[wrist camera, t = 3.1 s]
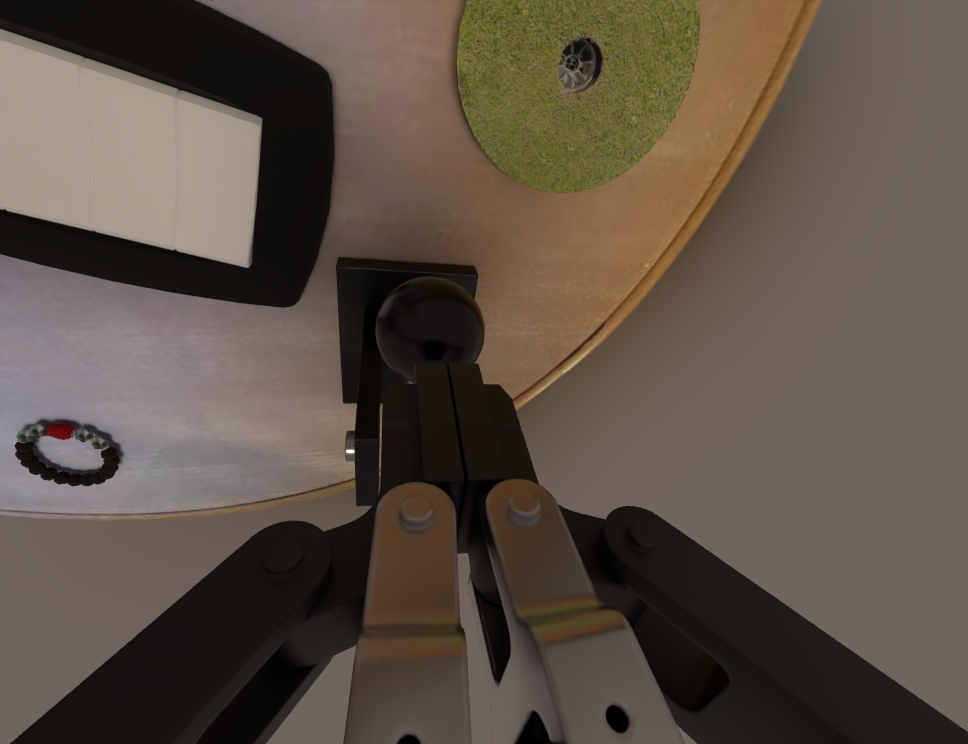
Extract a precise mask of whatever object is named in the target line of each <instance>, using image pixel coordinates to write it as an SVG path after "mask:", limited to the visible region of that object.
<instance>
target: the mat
mask: <svg viewBox="0 0 968 744" xmlns="http://www.w3.org/2000/svg"><path fill="white" fill-rule="evenodd" d="M464 10H465V12H464V14H463V17H462V20H461V24H460V28H459V40H458V44H457V62H458V63H457V64H456V65H457V75H458V89H459V92H460V93H461V95H460V96H461V102H462V106H463V109H464V111H465V114H466V119H467V120H468V121H469V125H470V128H471V129H472V131H473V133H474V136H475V137H476V138H477V141H478V142H479V144H480V145H481V148H482V149H483V150H484V151H485V153H486V155H487V154H488V157H489V158H490V159H491V160H492V161H493V163H494V164H496V165H497V166H498V168H499V169H500V170H502V171H503V172H505V173H506V174H507V175H508V176H509V177H511V178H513V179H515V180H516V181H518V182H520V183H522V184H524V185H526V186H529V187H532V188H534V189H537V190H542V191H546V192H557V193H568V192H578V191H582V190H586V189H591V188H593V187H597V186H600V185H602V184H604V183H605V182H609V181H611V180H612V179H614V178H616V177H618V176H619V175H621V174H623V173H624V171H627V170H629V169H630V168H631V167H633V166H634V165H635V164H636V163H637V162H639V161H640V160H641V159H642V158H643V156H644V155H646V154H647V153H648V152H649V151H650V150H651V149H652V147H653V146H654V145H655V144H656V142H657V141H658V140H659V139H660V138H661V136H662V135H663V134H664V133H665V131H666V130H667V128H668V124H670V123H671V122H672V119H673V118H674V117H675V114H676V112H677V111H678V109H679V108H680V106H681V104H682V101H683V99H684V96H685V94H686V91H687V89H688V88H689V85H690V81H691V78H692V73H693V72H694V65H695V62H696V58H697V51H698V48H697V46H698V45H699V32H700V6H699V0H467V2H466V5H465V9H464Z"/></svg>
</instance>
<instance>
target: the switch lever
mask: <svg viewBox="0 0 968 744" xmlns="http://www.w3.org/2000/svg"><path fill="white" fill-rule="evenodd" d="M375 331H376V341H377V345H378V348H379V351H380V353H381V355H382V357H383V359H384V360H385V362H386V363H387V365H388V366H389V367H390V368H391V369H392V370H393V371H394V372H395V373H396V374H398V375H399V376H401V377H402V378H404V379H405V384H413V379H414V365H415V362H422V363H446V366H447V363H475V362H476V360H477V358H478V356H479V354H480V352H481V350H482V346H483V343H484V336H485V328H484V321H483V316H482V313H481V310H480V308H479V306H478V305H477V303H476V301H475V300H474V298H473V297H472V296H471V295H470V294H469V293H468V292H467V291H466V290H465V289H464V288H463V287H461V286H460V285H458V284H456V283H454V282H453V281H450V280H448V279H444V278H440V277H430V276H428V277H419V278H415V279H412V280H409V281H407V282H405V283H403V284H401V285H400V286H398V287H397V288H395V289H394V290H393V291H392V292H391V293H390V294H389V295H388V296H387V298H386V299H385V301H384V302H383V304H382V306H381V308H380V310H379V313H378V316H377V320H376V329H375Z"/></svg>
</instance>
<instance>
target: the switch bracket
mask: <svg viewBox="0 0 968 744" xmlns="http://www.w3.org/2000/svg"><path fill="white" fill-rule="evenodd" d="M336 274H337V294H338V313H339V333H340V353H341V373H342V393H343V403H357V411H356V423H355V431H347V432H346V441H345V458H346V461H355V481H356V505H357V506H373V505H374V503H375V502H376V500H377V498H378V491H379V447H380V403H383V397H384V395H385V394H386V392H387V391H388V389H389V388H390V386H391V385H392V383H394V384H405V379H404V378H402V377H401V376H399V375H398V374H396V373H395V372H394V371H393V370H392V369H391V368H390V367H389V366H388V365H387V363H386V362H385V360H384V359H383V357H382V355H381V353H380V351H379V348H378V345H377V341H376V331H375V329H376V320H377V316H378V313H379V310H380V308H381V306H382V304H383V302H384V301H385V299H386V298H387V296H388V295H389V294H390V293H391V292H392V291H393V290H394V289H395V288H397V287H398V286H400V285H401V284H403V283H405V282H407V281H409V280H412V279H415V278H419V277H428V276H430V277H440V278H444V279H448V280H450V281H453V282H454V283H456V284H458V285H460V286H461V287H463V288H464V289H465V290H466V291H467V292H468V293H469V294H470V295H471V296H472V297H473V298H474V300H475V293H476V286H477V279H478V274H477V271H476V268H475V267H472V266H457V265H441V264H426V263H410V262H395V261H380V260H364V259H349V258H338V261H337V265H336Z"/></svg>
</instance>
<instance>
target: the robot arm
mask: <svg viewBox="0 0 968 744" xmlns="http://www.w3.org/2000/svg"><path fill="white" fill-rule="evenodd" d="M458 553H468V556H469V562H470V570H471V571H470V576H469V581H468V592H469V597H470V602H471V607H472V611H473V616H474V621H475V626H476V630H477V635H478V640H479V644H480V649H481V654H482V659H483V663H484V668H485V673H486V678H487V683H488V688H489V696H490V725H491V733H492V740H493V744H685V742H684V740H683V738H682V736H681V734H680V732H679V730H678V727H677V725H678V726H679V727H680V728H681V729H682V730H683V731H684V732H685V733H686V734H687V735H689V736H690V737H691V738H692V739H693V740H694V741H695V742H696V743H697V744H968V732H967V731H966V730H964V729H963V728H961V727H960V726H958V725H957V724H956V723H954V722H953V721H951V720H950V719H948V718H947V717H946V716H944V715H943V714H941V713H940V712H938V711H937V710H935V709H934V708H932V707H931V706H929V705H928V704H927V703H926V702H924V701H923V700H921V699H920V698H918V697H917V696H915V695H914V694H913V693H911V692H910V691H908V690H907V689H905V688H904V687H903V686H901V685H900V684H898V683H897V682H895V681H894V680H893V679H891V678H890V677H888V676H887V675H885V674H884V673H883V672H881V671H880V670H878V669H877V668H875V667H874V666H872V665H871V664H870V663H868V662H867V661H865V660H864V659H862V658H861V657H860V656H858V655H857V654H855V653H854V652H852V651H851V650H850V649H848V648H847V647H845V646H844V645H842V644H841V643H840V642H838V641H837V640H835V639H834V638H832V637H831V636H830V635H828V634H827V633H825V632H824V631H822V630H821V629H820V628H818V627H817V626H815V625H814V624H812V623H811V622H810V621H808V620H807V619H805V618H804V617H802V616H801V615H799V614H798V613H797V612H795V611H794V610H792V609H791V608H789V607H788V606H786V605H785V604H784V603H782V602H781V601H779V600H778V599H777V598H775V597H774V596H772V595H771V594H769V593H768V592H767V591H765V590H764V589H762V588H761V587H759V586H758V585H757V584H755V583H753V582H752V581H751V580H749V579H748V578H746V577H745V576H744V575H742V574H741V573H739V572H738V571H736V570H735V569H734V568H732V567H731V566H729V565H728V564H726V563H725V562H723V561H722V560H721V559H719V558H718V557H716V556H715V555H714V554H712V553H711V552H709V551H708V550H706V549H705V548H704V547H702V546H701V545H699V544H698V543H696V542H695V541H693V540H692V539H690V538H689V537H688V536H686V535H685V534H683V533H682V532H680V531H679V530H678V529H676V528H675V527H673V526H672V525H670V524H669V523H668V522H666V521H665V520H663V519H662V518H660V517H659V516H657V515H655V514H654V513H653V512H650V511H648V510H646V509H643V508H640V507H635V506H623V507H619V508H617V509H615V510H613V511H612V512H611V513H610V514H609V515H608V516H607V518H606V520H605V519H601V518H597V517H593V516H589V515H585V514H580V513H577V512H573V511H570V510H568V509H565V508H563V507H562V506H560V505H558V504H557V502H556V500H555V499H554V497H553V496H552V495H551V494H550V493H549V492H548V491H547V490H546V489H545V488H543V487H542V486H540V485H539V483H538V480H537V477H536V474H535V471H534V468H533V464H532V461H531V458H530V455H529V452H528V448H527V445H526V443H525V439H524V436H523V433H522V431H521V426H520V423H519V420H518V418H517V414H516V410H515V407H514V404H513V401H512V398H511V397H510V396H509V395H508V394H507V393H506V392H505V391H504V389H503V388H502V387H501V386H500V385H499V384H483V380H482V376H481V372H480V368H479V365H478V364H477V363H447V366H446V363H422V362H415V365H414V379H413V384H394V383H392V385H391V386H390V388H389V389H388V391H387V392H386V394H385V395H384V397H383V408H382V451H381V487H380V493H379V496H378V498H377V500H376V502H375V503H374V505H373V506H372V507H371V508H370V509H369V510H368V512H366V513H365V514H364V515H363V516H361V517H360V518H358V519H356V520H354V521H352V522H350V523H348V524H345V525H342V526H339V527H336V528H333V529H330V530H327V531H324V532H323V531H322V530H321V529H319V528H318V527H317V526H315V525H313V524H311V523H307V522H303V521H286V522H280V523H276V524H273V525H271V526H269V527H266V528H264V529H263V530H261V531H259V532H258V533H257V534H255V535H254V536H252V537H251V538H250V539H249V540H248V541H247V542H245V543H244V544H243V545H242V546H241V547H240V548H238V549H237V550H236V551H235V552H234V553H233V554H231V555H230V556H229V557H228V558H227V559H226V560H224V561H223V562H222V563H221V564H220V565H219V566H217V567H216V568H215V569H214V570H213V571H212V572H210V573H209V574H208V575H207V576H206V577H205V578H203V579H202V580H201V581H200V582H199V583H197V584H196V585H195V586H194V587H193V588H192V589H190V590H189V591H188V592H187V593H186V594H185V595H183V596H182V597H181V598H180V599H179V600H178V601H176V602H175V603H174V604H173V605H172V606H171V607H169V608H168V609H167V610H166V611H165V612H164V613H163V614H161V615H160V616H159V617H158V618H157V619H155V620H154V621H153V622H152V623H151V624H150V625H148V626H147V627H146V628H145V629H144V630H142V631H141V632H140V633H139V634H138V635H137V636H135V637H134V638H133V639H132V640H131V641H130V642H128V643H127V644H126V645H125V646H124V647H123V648H121V649H120V650H119V651H118V652H117V653H116V654H114V656H112V657H111V658H110V659H109V660H107V661H106V662H105V663H104V664H103V665H102V666H101V667H99V668H98V669H97V670H96V671H95V672H93V673H92V674H91V675H90V676H89V677H88V678H86V679H85V680H84V681H83V682H82V683H80V685H78V686H77V687H76V688H75V689H73V690H72V691H71V692H70V693H69V694H68V695H66V696H65V697H64V698H63V699H62V700H61V701H59V702H58V703H57V704H56V705H55V706H54V707H52V708H51V709H50V710H49V711H48V712H47V713H45V714H44V715H43V716H42V717H41V718H40V719H38V720H37V721H36V722H35V723H34V724H33V725H31V726H30V727H29V728H28V729H27V730H26V731H24V732H23V733H22V734H21V735H20V736H18V738H16V739H15V740H14V741H13V742H12V743H10V744H266V743H267V742H268V740H269V739H270V738H271V737H272V735H273V734H274V733H275V732H276V730H277V729H278V728H279V726H280V725H281V724H282V723H283V721H284V720H285V719H286V717H287V716H288V715H289V714H290V712H291V711H292V710H293V708H294V707H295V706H296V705H297V703H298V702H299V701H300V700H301V698H302V697H303V696H304V694H305V693H306V692H307V691H308V689H309V688H310V687H311V685H312V684H313V683H314V682H315V680H316V679H317V678H318V677H319V675H320V674H321V673H322V671H323V670H324V669H325V667H326V666H327V665H328V664H329V662H330V661H331V659H332V658H333V656H334V655H336V654H338V653H340V652H342V651H345V650H347V649H349V648H351V647H353V646H355V645H356V650H355V657H354V665H353V673H352V680H351V688H350V696H349V704H348V712H347V719H346V727H345V735H344V742H343V744H472V741H471V722H470V701H469V682H468V661H467V646H466V637H465V632H464V629H463V628H462V627H461V623H460V608H459V583H458V558H457V554H458ZM676 724H677V725H676Z"/></svg>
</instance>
